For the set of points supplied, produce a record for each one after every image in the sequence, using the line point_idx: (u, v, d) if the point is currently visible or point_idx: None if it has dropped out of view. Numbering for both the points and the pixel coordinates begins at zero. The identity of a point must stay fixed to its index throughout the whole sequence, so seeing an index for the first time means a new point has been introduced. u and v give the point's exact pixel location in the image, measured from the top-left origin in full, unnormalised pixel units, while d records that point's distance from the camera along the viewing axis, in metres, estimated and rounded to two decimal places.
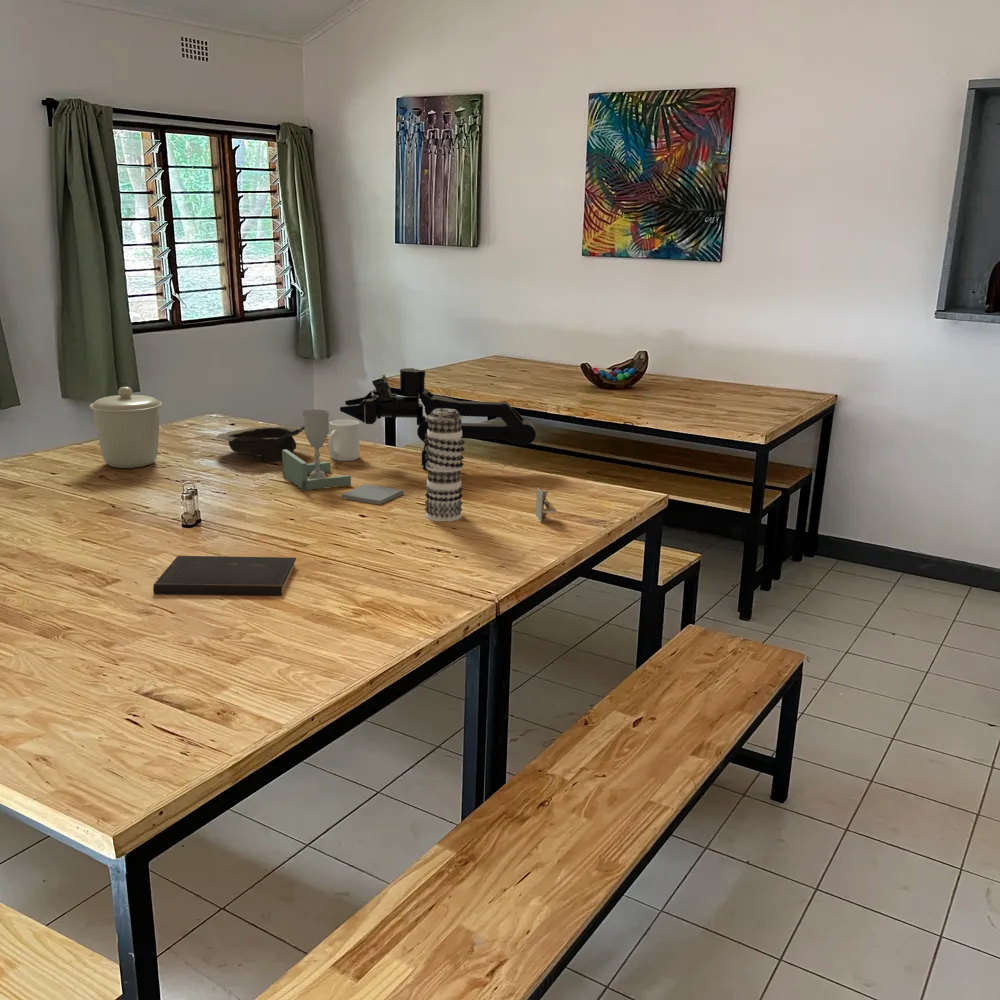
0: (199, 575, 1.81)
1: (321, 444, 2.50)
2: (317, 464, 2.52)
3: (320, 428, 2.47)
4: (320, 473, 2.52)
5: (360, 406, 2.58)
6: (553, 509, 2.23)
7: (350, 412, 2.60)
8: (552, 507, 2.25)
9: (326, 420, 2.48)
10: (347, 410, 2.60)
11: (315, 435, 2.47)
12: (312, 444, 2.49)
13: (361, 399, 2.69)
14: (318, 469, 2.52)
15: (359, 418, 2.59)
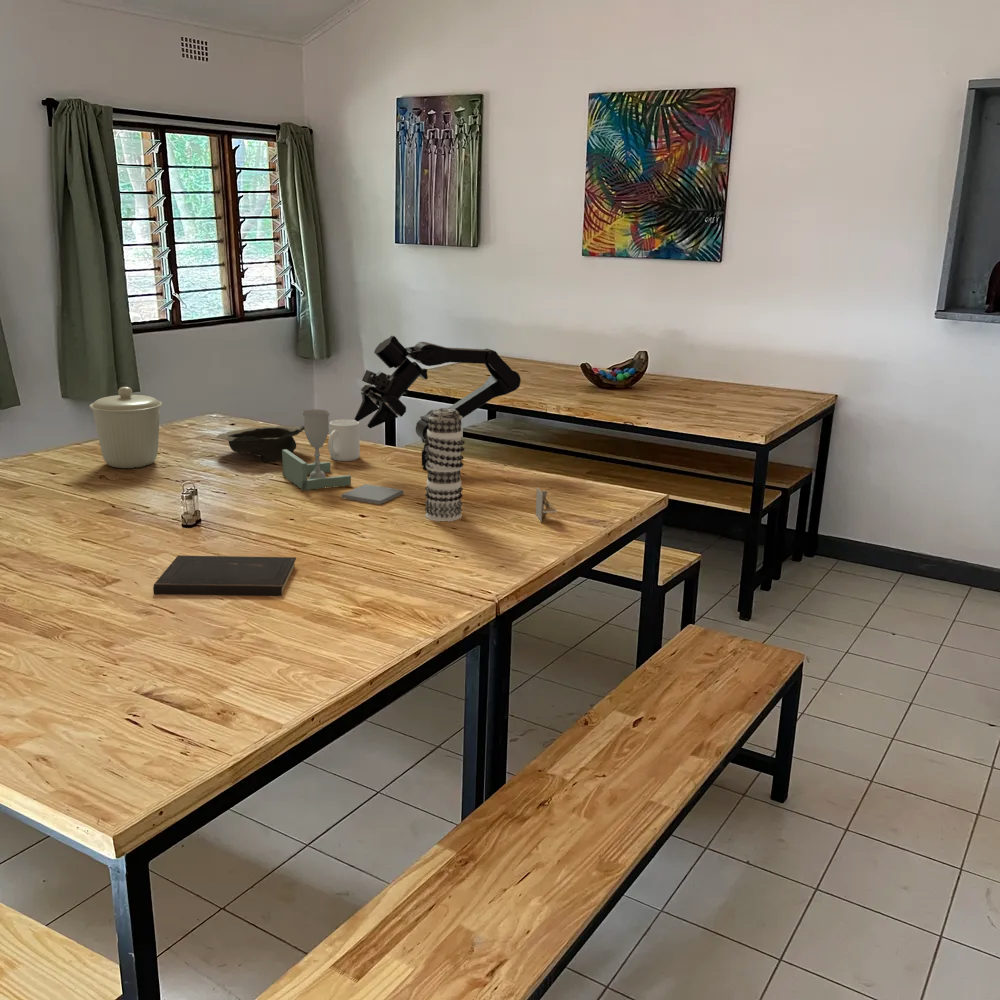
0: (199, 575, 1.81)
1: (321, 444, 2.50)
2: (317, 464, 2.52)
3: (320, 428, 2.47)
4: (320, 473, 2.52)
5: (383, 409, 2.51)
6: (553, 509, 2.23)
7: (379, 421, 2.53)
8: (552, 507, 2.25)
9: (326, 420, 2.48)
10: (375, 421, 2.53)
11: (315, 435, 2.47)
12: (312, 444, 2.49)
13: (364, 405, 2.61)
14: (318, 469, 2.52)
15: (390, 418, 2.53)
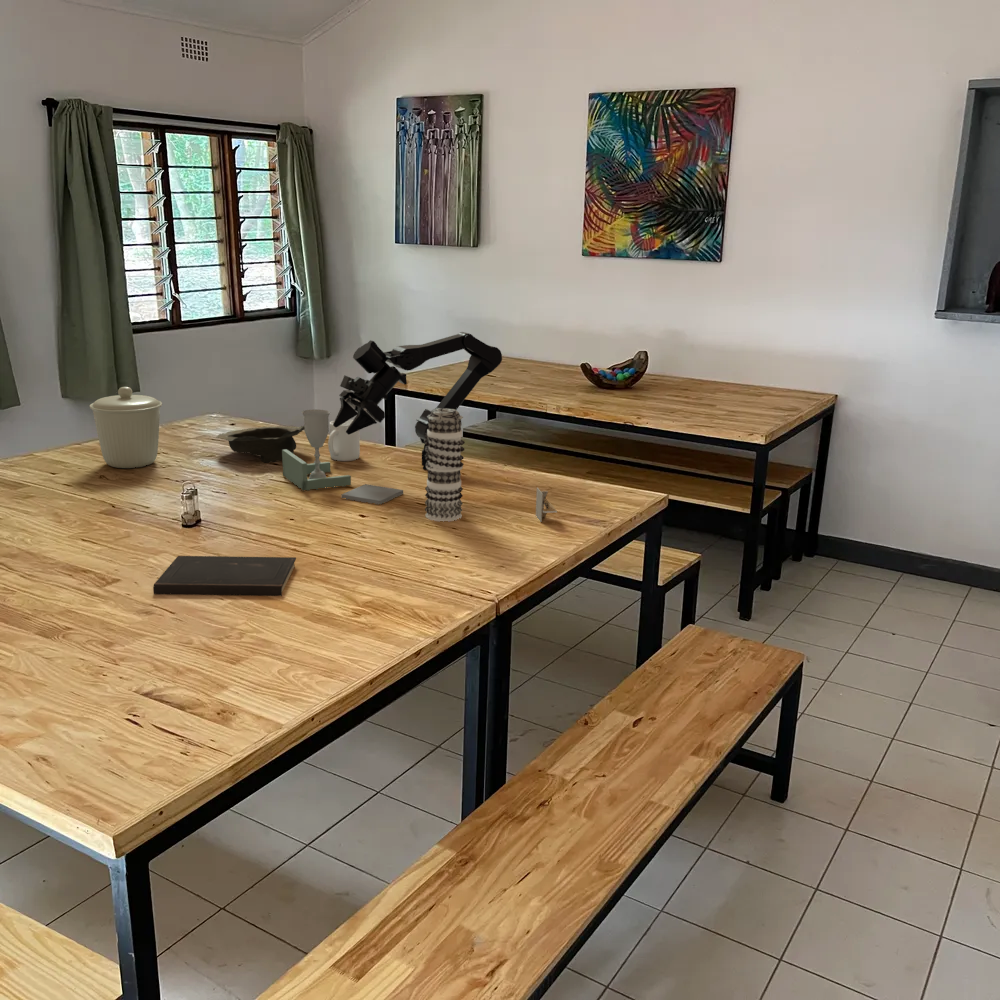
0: (199, 575, 1.81)
1: (321, 444, 2.50)
2: (317, 464, 2.52)
3: (320, 428, 2.47)
4: (320, 473, 2.52)
5: (361, 415, 2.48)
6: (553, 509, 2.23)
7: (357, 427, 2.49)
8: (552, 507, 2.25)
9: (326, 420, 2.48)
10: (354, 427, 2.49)
11: (315, 435, 2.47)
12: (312, 444, 2.49)
13: (342, 411, 2.57)
14: (318, 469, 2.52)
15: (369, 424, 2.49)
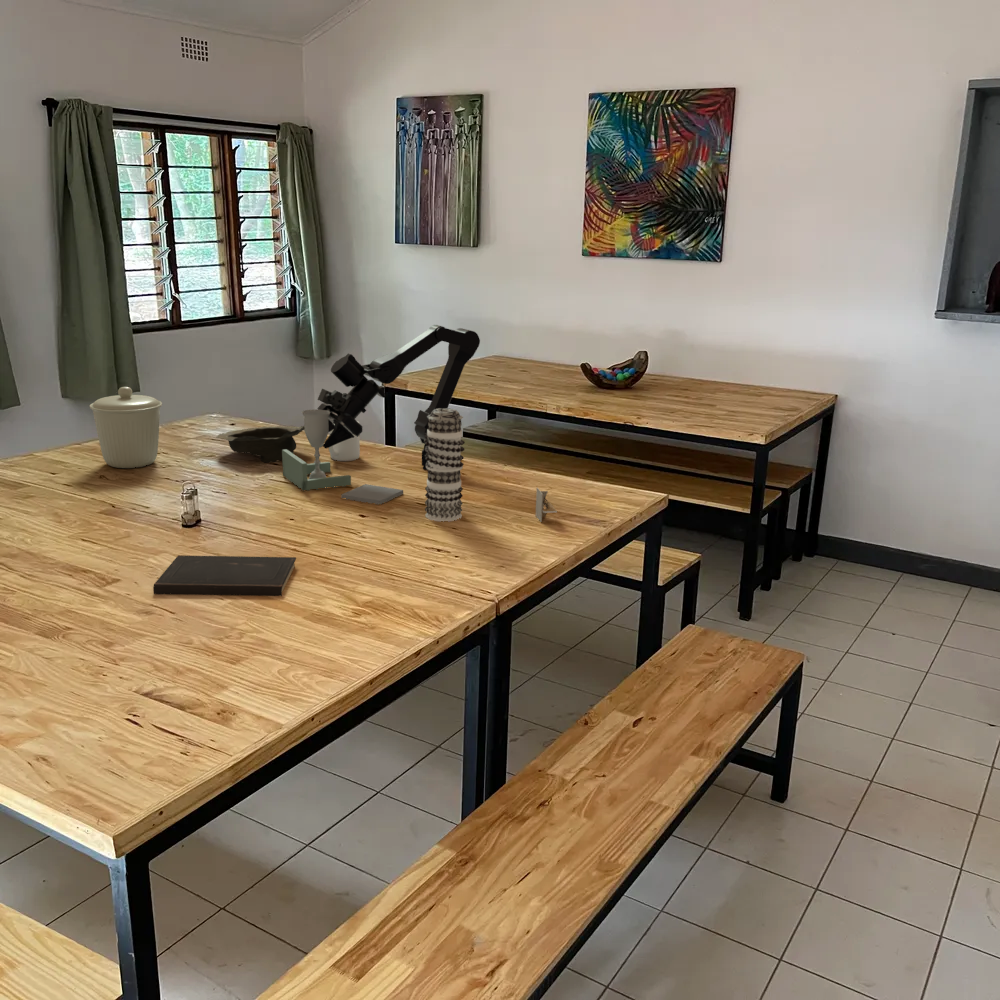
0: (199, 575, 1.81)
1: (321, 444, 2.50)
2: (317, 464, 2.52)
3: (320, 428, 2.47)
4: (320, 473, 2.52)
5: (338, 429, 2.46)
6: (553, 509, 2.23)
7: (335, 441, 2.47)
8: (552, 507, 2.25)
9: (326, 420, 2.48)
10: (331, 441, 2.47)
11: (315, 435, 2.47)
12: (312, 444, 2.49)
13: None
14: (318, 469, 2.52)
15: (346, 438, 2.47)
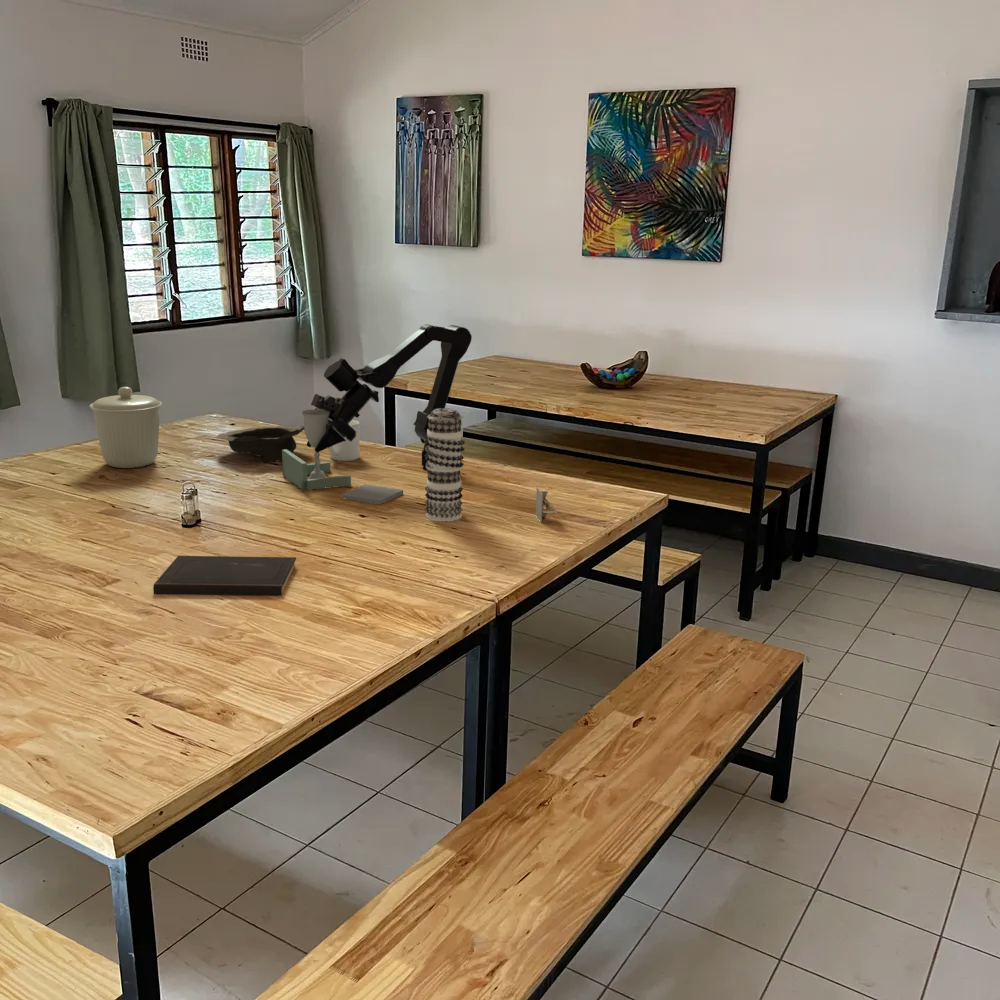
0: (199, 575, 1.81)
1: None
2: (317, 464, 2.52)
3: (320, 428, 2.47)
4: (320, 473, 2.52)
5: (330, 432, 2.46)
6: (553, 509, 2.23)
7: (326, 444, 2.48)
8: (552, 507, 2.25)
9: (326, 420, 2.48)
10: (322, 445, 2.48)
11: (315, 435, 2.47)
12: (312, 444, 2.49)
13: None
14: (318, 469, 2.52)
15: (337, 441, 2.48)
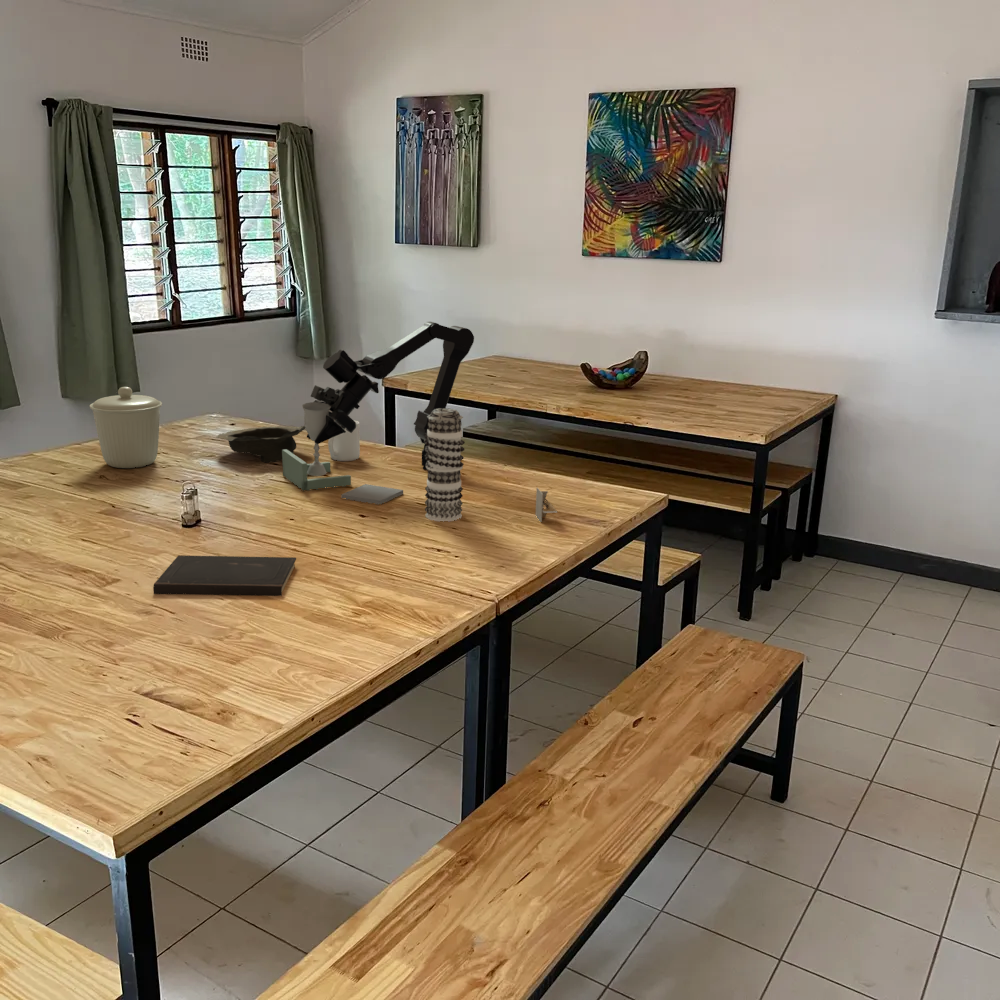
0: (199, 575, 1.81)
1: None
2: (316, 457, 2.52)
3: (320, 423, 2.46)
4: (319, 466, 2.52)
5: (329, 424, 2.46)
6: (553, 509, 2.23)
7: (326, 436, 2.47)
8: (552, 507, 2.25)
9: None
10: (322, 437, 2.47)
11: (316, 430, 2.47)
12: (312, 438, 2.49)
13: None
14: (317, 462, 2.53)
15: (338, 433, 2.48)
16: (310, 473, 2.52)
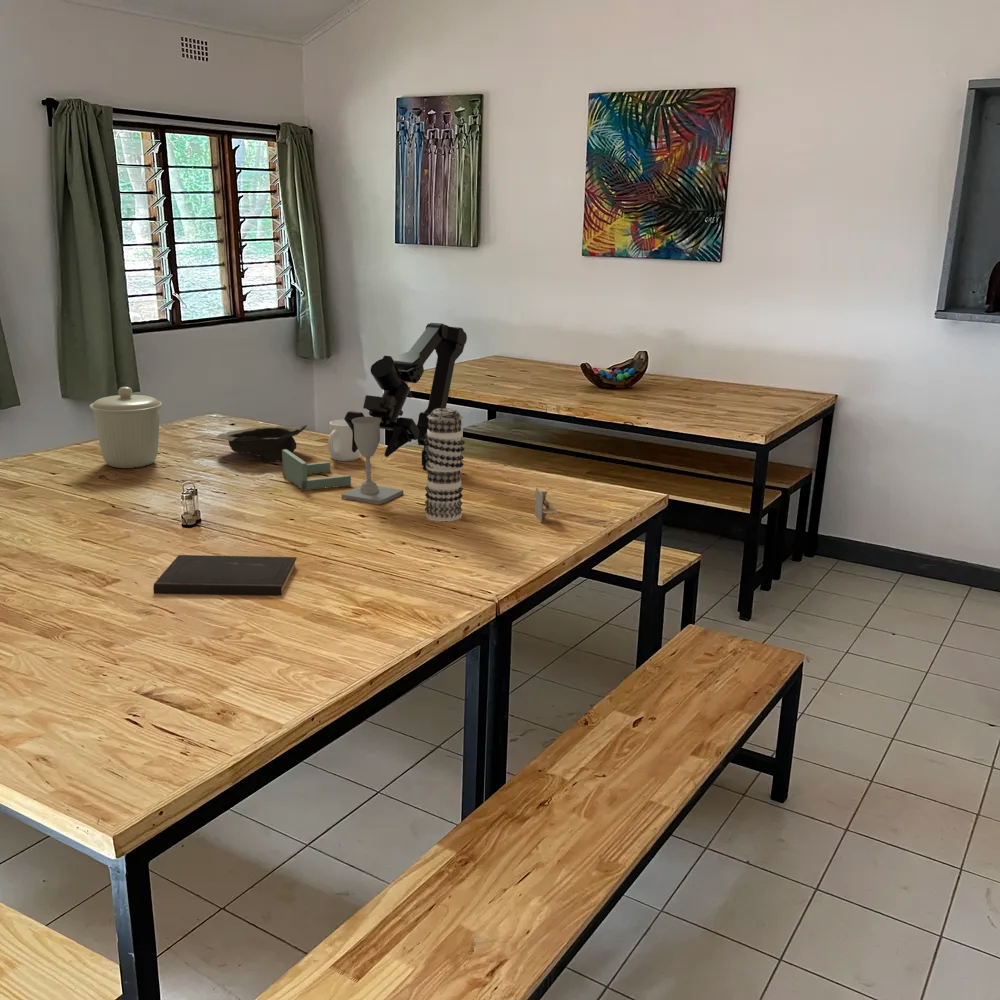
0: (199, 575, 1.81)
1: (374, 452, 2.38)
2: (370, 474, 2.40)
3: (378, 435, 2.36)
4: (374, 482, 2.40)
5: (399, 434, 2.36)
6: (553, 509, 2.23)
7: (394, 447, 2.36)
8: (552, 507, 2.25)
9: None
10: (391, 449, 2.36)
11: (373, 443, 2.36)
12: (367, 454, 2.37)
13: None
14: (370, 479, 2.40)
15: (403, 443, 2.38)
16: (368, 492, 2.39)
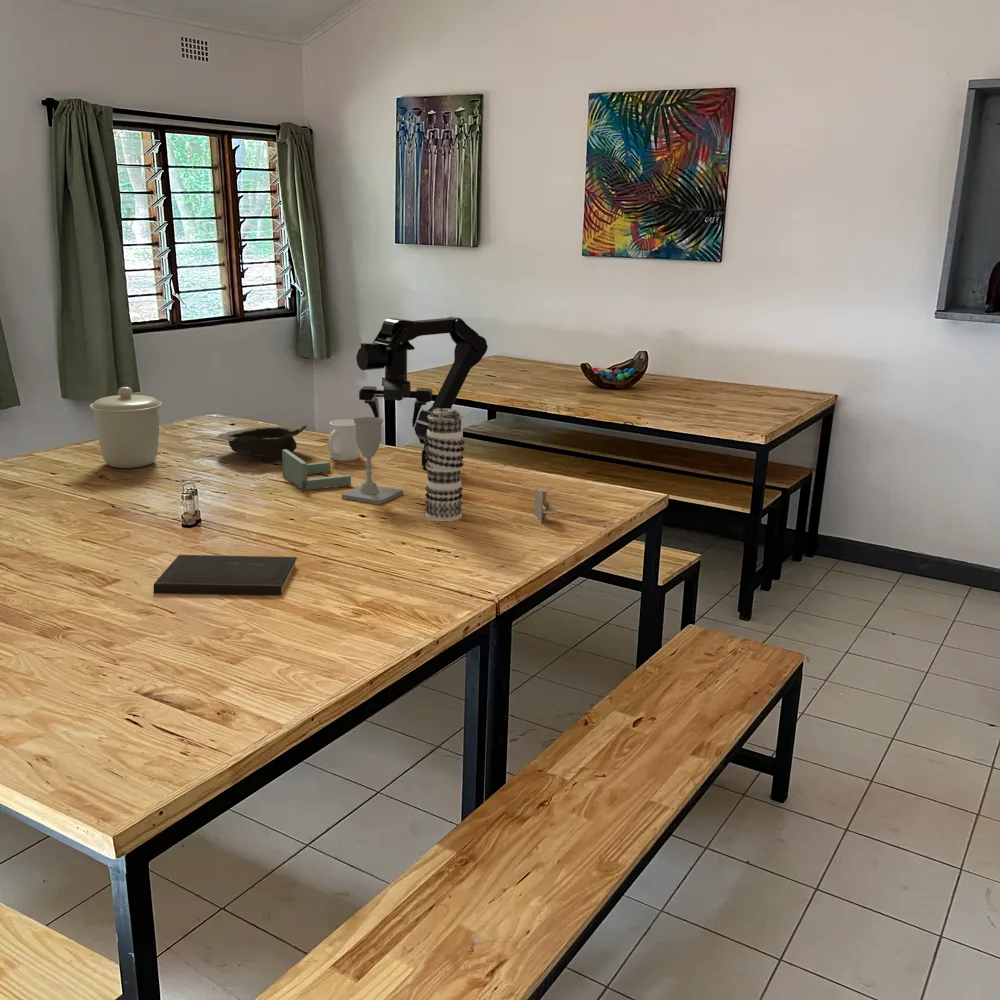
0: (199, 574, 1.81)
1: (375, 452, 2.39)
2: (370, 474, 2.40)
3: (379, 435, 2.36)
4: (374, 483, 2.40)
5: None
6: (553, 509, 2.23)
7: None
8: (552, 507, 2.25)
9: None
10: None
11: (375, 443, 2.36)
12: (368, 454, 2.37)
13: (377, 409, 2.56)
14: None
15: None
16: (368, 492, 2.39)
